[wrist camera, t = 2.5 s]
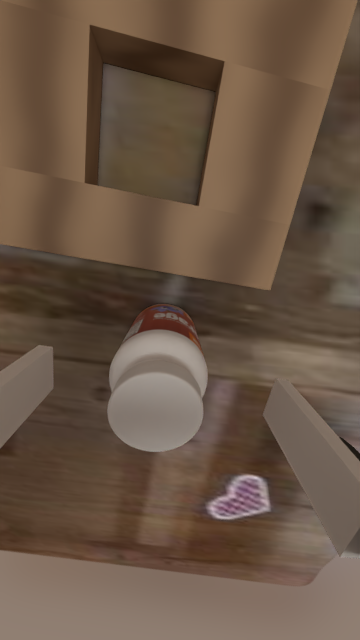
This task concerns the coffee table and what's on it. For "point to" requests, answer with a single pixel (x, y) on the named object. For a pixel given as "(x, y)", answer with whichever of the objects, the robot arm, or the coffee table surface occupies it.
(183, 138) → the coffee table surface
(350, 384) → the coffee table surface
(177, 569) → the coffee table surface
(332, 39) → the square wooden frame
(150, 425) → the pill bottle
